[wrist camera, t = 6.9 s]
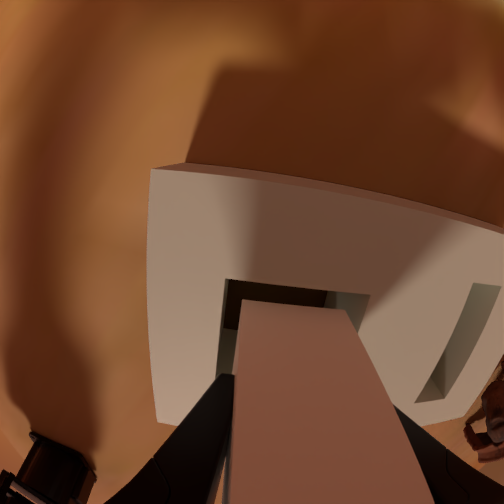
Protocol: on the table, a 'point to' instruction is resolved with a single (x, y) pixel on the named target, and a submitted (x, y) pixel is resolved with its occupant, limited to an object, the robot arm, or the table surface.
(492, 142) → the table surface
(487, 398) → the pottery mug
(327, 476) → the square peg
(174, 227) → the socket block
